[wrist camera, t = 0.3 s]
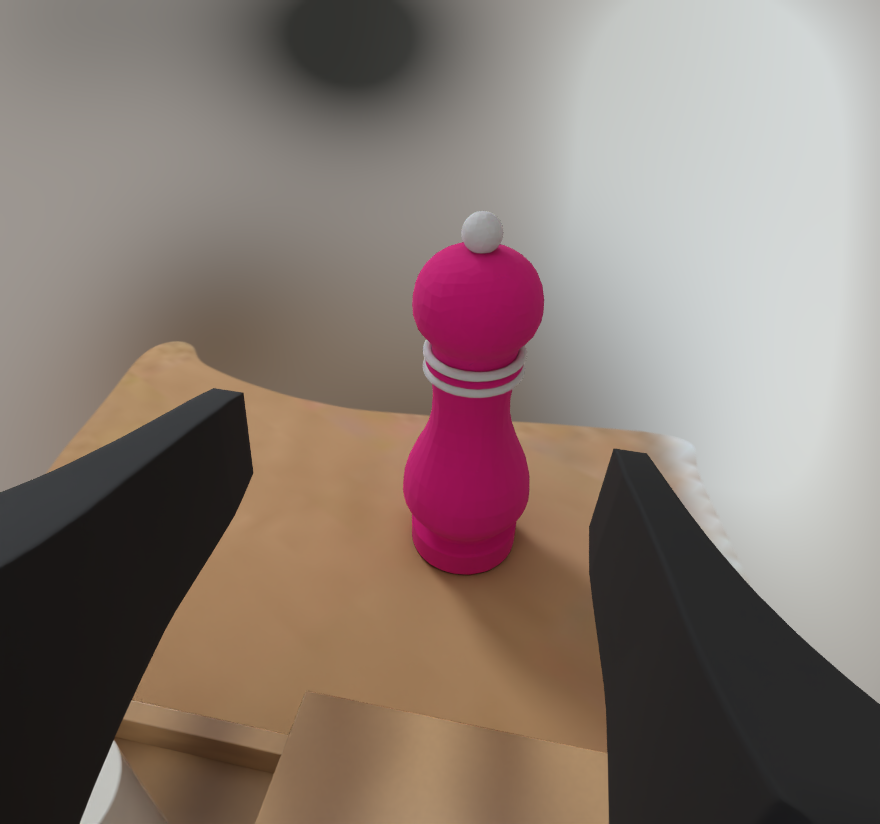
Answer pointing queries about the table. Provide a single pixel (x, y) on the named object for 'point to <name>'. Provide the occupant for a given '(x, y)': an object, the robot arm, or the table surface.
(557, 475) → the table surface
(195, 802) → the drawer
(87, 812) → the spice jar
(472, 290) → the pepper mill
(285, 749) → the cabinet
